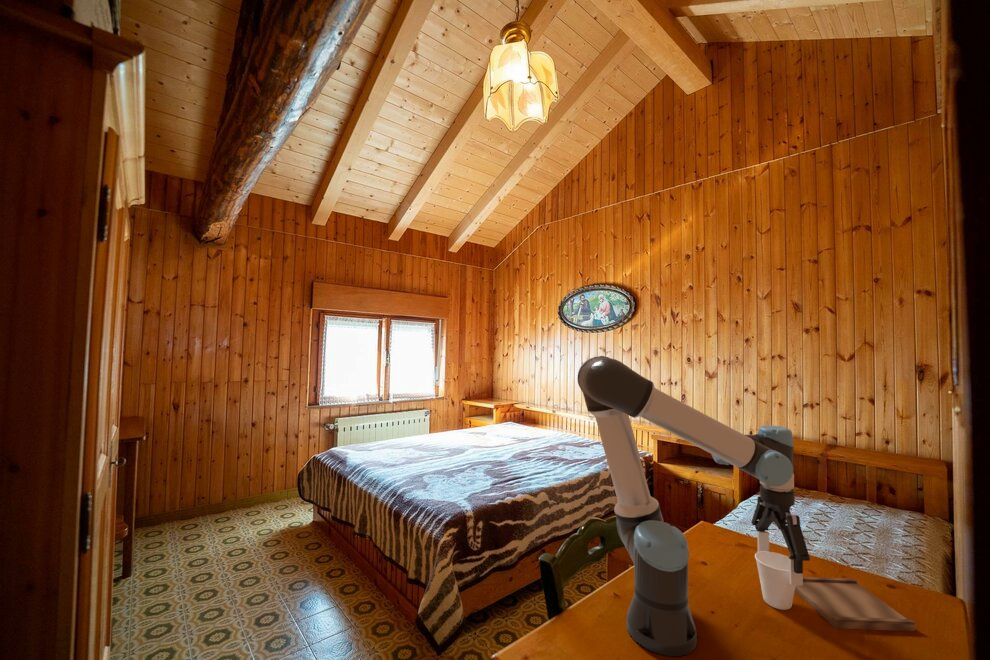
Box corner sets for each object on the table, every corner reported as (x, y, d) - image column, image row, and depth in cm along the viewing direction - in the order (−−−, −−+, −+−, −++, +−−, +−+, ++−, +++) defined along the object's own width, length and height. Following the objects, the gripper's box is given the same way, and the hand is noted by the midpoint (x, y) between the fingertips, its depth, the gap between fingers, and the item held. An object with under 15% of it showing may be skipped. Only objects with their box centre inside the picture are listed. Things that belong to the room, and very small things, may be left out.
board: (835, 628, 101) (835, 619, 101) (786, 584, 119) (786, 576, 119) (914, 631, 100) (914, 622, 100) (853, 586, 118) (853, 578, 118)
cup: (808, 618, 104) (808, 573, 104) (764, 612, 106) (763, 568, 106) (789, 594, 114) (789, 553, 114) (748, 589, 116) (748, 549, 116)
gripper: (826, 505, 98) (829, 599, 98) (763, 471, 123) (765, 545, 123) (793, 505, 98) (795, 598, 98) (737, 471, 123) (738, 545, 123)
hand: (778, 569), depth 110 cm, fingers open, 13 cm apart
